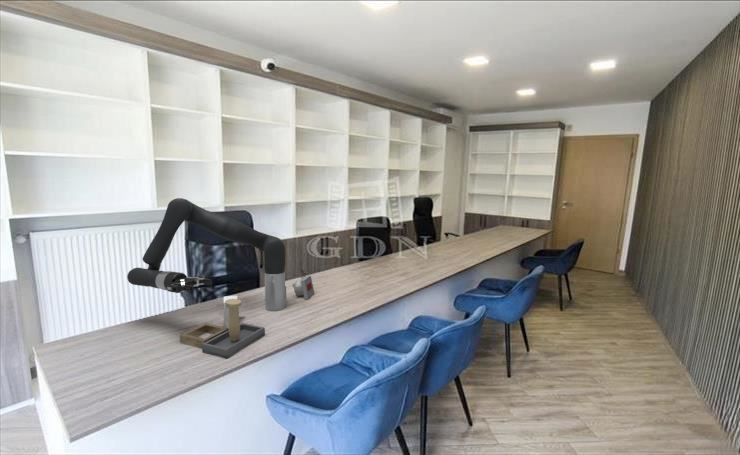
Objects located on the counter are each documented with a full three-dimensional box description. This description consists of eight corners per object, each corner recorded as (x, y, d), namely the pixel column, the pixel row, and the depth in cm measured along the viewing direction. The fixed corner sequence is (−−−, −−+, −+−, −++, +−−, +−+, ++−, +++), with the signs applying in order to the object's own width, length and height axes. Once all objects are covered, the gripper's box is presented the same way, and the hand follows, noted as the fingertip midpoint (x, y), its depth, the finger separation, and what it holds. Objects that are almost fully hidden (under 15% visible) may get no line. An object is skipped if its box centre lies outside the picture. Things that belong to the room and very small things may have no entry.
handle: (236, 335, 135) (234, 297, 133) (245, 340, 131) (244, 301, 129) (224, 339, 132) (222, 301, 129) (233, 345, 127) (231, 305, 125)
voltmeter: (318, 298, 182) (318, 279, 180) (296, 301, 177) (296, 282, 176) (305, 284, 206) (305, 267, 204) (285, 286, 201) (285, 269, 200)
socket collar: (206, 330, 142) (205, 323, 142) (229, 335, 137) (229, 328, 137) (180, 342, 131) (179, 335, 130) (204, 349, 126) (204, 341, 126)
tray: (242, 330, 143) (242, 322, 142) (264, 334, 139) (264, 327, 138) (202, 352, 124) (201, 344, 124) (226, 358, 120) (226, 350, 120)
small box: (224, 319, 153) (223, 296, 151) (238, 318, 155) (237, 294, 153) (223, 327, 145) (222, 302, 144) (238, 325, 147) (237, 301, 146)
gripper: (153, 276, 133) (186, 281, 127) (186, 267, 146) (216, 271, 140) (155, 296, 134) (187, 301, 128) (187, 285, 147) (217, 289, 141)
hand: (202, 285), depth 134 cm, fingers open, 8 cm apart
